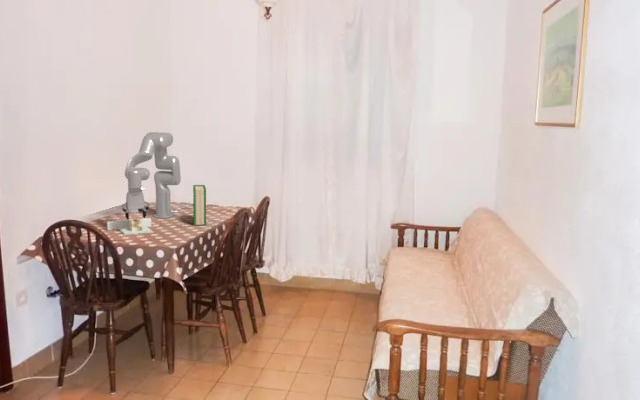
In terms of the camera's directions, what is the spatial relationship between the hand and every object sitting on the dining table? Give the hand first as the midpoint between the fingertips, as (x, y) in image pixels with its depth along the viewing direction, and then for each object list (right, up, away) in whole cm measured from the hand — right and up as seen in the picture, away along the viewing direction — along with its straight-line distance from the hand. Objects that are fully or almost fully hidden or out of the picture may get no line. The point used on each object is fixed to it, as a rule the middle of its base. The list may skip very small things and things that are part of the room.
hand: (135, 218), depth 324 cm
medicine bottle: (-21, +2, +62) cm, 65 cm away
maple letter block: (0, -7, +1) cm, 7 cm away
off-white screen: (-7, -6, +9) cm, 13 cm away
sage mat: (0, -8, +1) cm, 8 cm away
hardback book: (+32, -4, +30) cm, 44 cm away
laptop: (+13, +6, +88) cm, 89 cm away
